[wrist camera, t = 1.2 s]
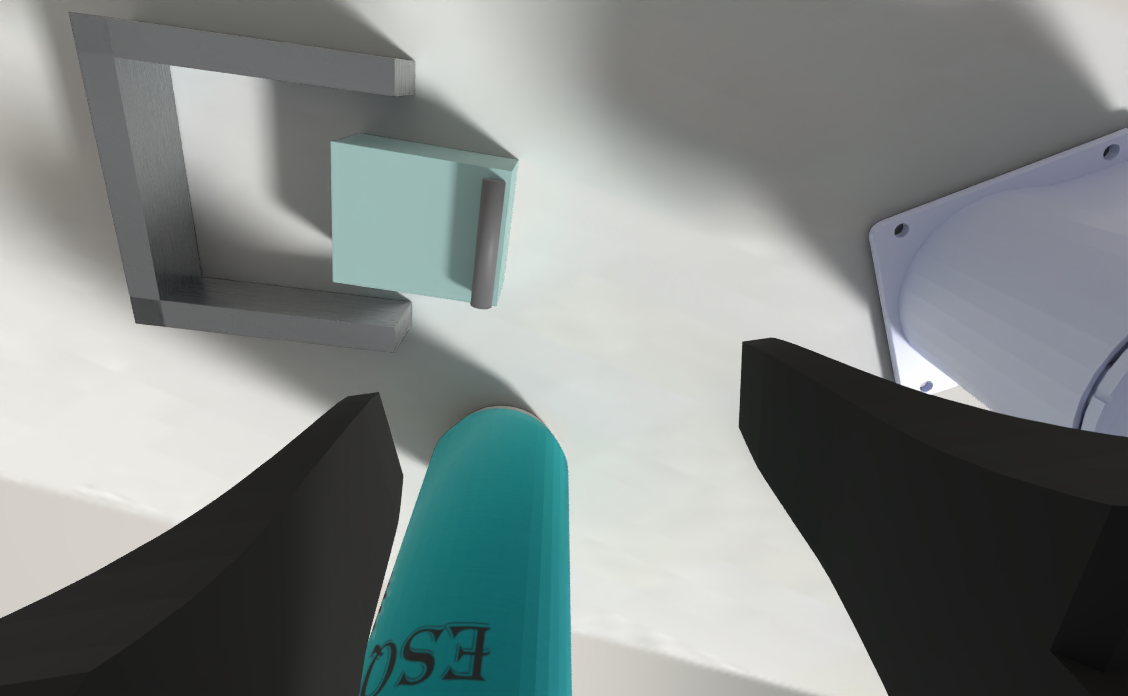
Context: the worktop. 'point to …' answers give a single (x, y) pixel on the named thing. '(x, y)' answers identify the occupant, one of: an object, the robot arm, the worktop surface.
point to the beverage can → (481, 570)
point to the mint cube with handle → (421, 218)
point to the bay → (160, 191)
